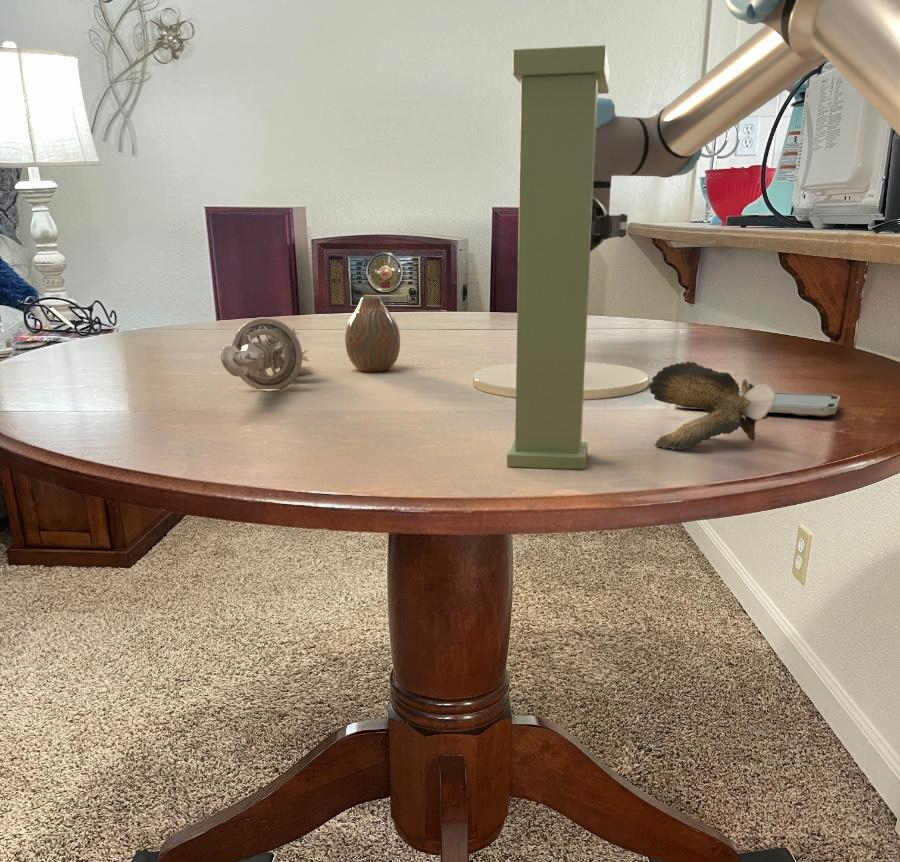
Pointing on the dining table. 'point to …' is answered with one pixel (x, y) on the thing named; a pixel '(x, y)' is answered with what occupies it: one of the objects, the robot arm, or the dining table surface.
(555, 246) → the stand
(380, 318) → the vase
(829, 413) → the smartphone
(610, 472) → the dining table surface
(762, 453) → the dining table surface
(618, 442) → the dining table surface
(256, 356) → the spaceship
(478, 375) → the plate
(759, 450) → the dining table surface
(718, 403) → the eagle figurine
